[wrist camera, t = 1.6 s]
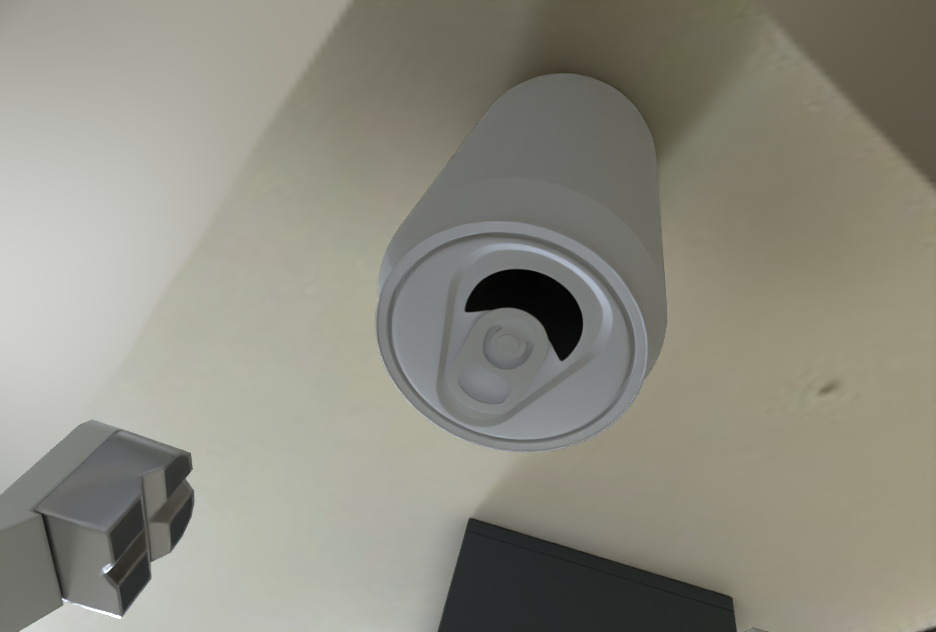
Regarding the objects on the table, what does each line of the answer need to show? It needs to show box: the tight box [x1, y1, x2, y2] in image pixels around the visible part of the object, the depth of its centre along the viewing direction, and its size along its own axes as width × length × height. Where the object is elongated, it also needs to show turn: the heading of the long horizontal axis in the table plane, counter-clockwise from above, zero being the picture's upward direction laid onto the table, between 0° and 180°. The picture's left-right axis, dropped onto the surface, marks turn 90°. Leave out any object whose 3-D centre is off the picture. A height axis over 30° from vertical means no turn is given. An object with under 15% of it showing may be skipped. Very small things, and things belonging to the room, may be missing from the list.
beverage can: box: [375, 73, 667, 453], centre depth 18 cm, size 6×6×12 cm
